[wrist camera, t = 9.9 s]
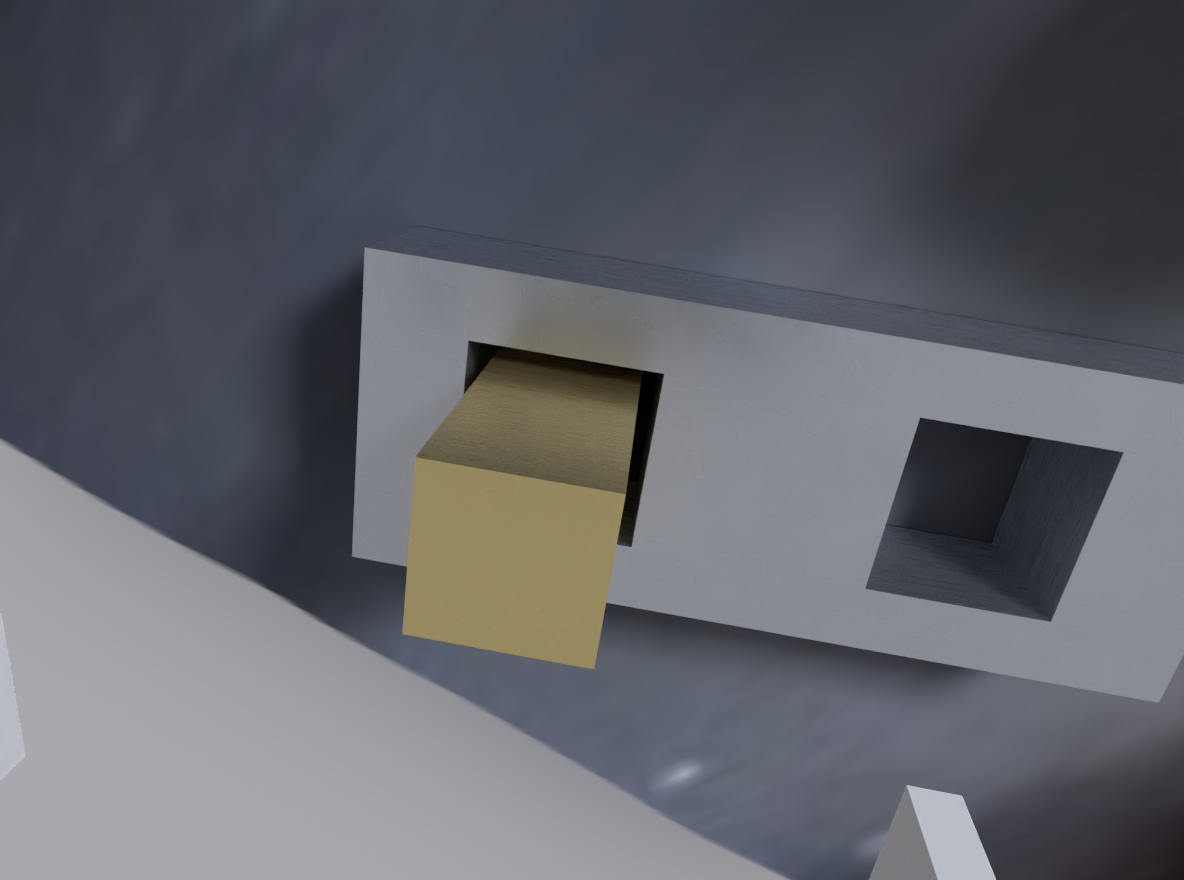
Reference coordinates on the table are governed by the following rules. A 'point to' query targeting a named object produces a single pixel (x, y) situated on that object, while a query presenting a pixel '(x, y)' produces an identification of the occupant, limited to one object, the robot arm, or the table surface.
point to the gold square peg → (522, 508)
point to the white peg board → (813, 455)
